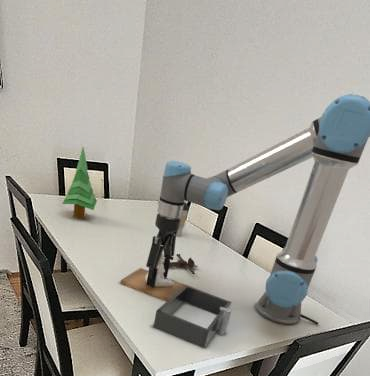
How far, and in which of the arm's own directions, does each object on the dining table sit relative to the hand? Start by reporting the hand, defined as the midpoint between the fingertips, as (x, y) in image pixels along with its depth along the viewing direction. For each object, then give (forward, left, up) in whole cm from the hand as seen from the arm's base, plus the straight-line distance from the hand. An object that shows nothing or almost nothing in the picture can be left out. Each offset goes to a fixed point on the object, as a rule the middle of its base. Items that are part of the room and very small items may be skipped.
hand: (156, 280), depth 130 cm
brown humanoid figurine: (+1, -22, -2) cm, 22 cm away
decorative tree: (+58, -37, -2) cm, 69 cm away
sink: (-20, +13, -2) cm, 24 cm away
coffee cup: (+19, -58, -2) cm, 61 cm away
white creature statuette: (0, +1, -1) cm, 1 cm away
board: (0, 0, -2) cm, 2 cm away
